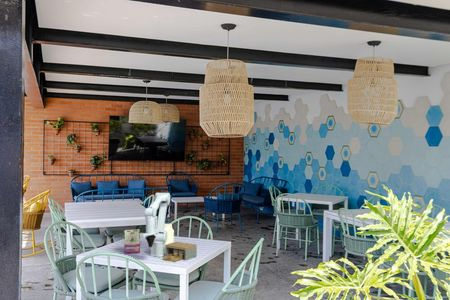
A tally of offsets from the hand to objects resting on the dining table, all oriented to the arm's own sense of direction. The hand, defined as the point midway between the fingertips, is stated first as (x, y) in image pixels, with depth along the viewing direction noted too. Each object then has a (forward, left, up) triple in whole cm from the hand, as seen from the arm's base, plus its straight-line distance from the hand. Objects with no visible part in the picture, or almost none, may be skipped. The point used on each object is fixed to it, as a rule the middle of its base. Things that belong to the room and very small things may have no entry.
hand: (150, 246), depth 276 cm
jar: (-26, +48, -10) cm, 55 cm away
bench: (+9, +21, -10) cm, 25 cm away
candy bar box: (-28, +12, -10) cm, 32 cm away
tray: (+9, +15, -10) cm, 20 cm away
